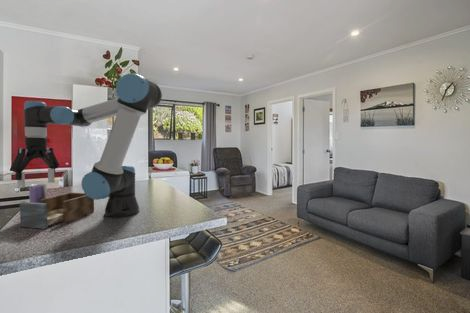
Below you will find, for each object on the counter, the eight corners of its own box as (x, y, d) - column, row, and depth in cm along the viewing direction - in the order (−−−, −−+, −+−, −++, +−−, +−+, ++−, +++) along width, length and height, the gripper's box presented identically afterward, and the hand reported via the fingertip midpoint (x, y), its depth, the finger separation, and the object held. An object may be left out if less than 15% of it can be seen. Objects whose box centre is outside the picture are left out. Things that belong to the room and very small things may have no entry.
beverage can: (37, 220, 105) (36, 186, 104) (26, 219, 106) (25, 185, 105) (50, 216, 111) (49, 183, 110) (40, 215, 112) (39, 183, 111)
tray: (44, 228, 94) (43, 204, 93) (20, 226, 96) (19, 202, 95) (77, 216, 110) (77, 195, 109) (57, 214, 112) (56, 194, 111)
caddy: (65, 222, 102) (65, 201, 102) (40, 220, 105) (39, 199, 104) (94, 211, 118) (93, 193, 118) (71, 210, 120) (70, 192, 120)
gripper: (54, 137, 119) (55, 180, 120) (-4, 136, 95) (-2, 189, 96) (67, 137, 118) (68, 180, 119) (12, 136, 93) (14, 190, 95)
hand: (37, 184), depth 107 cm, fingers open, 13 cm apart
